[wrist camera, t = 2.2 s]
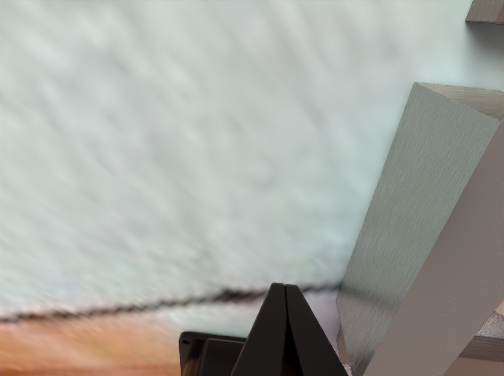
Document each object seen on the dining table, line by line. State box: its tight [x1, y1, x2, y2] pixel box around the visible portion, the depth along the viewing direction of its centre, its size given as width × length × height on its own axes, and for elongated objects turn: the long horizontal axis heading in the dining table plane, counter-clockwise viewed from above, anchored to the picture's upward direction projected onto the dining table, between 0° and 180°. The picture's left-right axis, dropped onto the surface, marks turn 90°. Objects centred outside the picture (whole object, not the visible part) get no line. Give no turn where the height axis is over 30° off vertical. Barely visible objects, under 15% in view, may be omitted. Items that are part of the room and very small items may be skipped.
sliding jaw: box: [336, 82, 504, 376], centre depth 11 cm, size 12×4×5 cm, turn 175°
